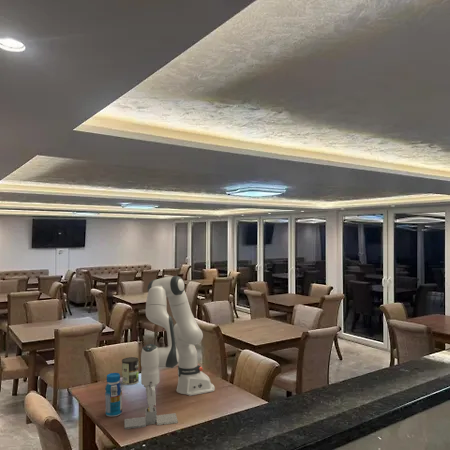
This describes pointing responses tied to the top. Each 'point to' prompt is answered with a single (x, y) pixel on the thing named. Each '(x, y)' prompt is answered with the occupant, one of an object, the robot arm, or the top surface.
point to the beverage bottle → (113, 395)
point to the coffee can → (130, 371)
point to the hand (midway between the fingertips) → (150, 407)
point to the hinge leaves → (150, 419)
